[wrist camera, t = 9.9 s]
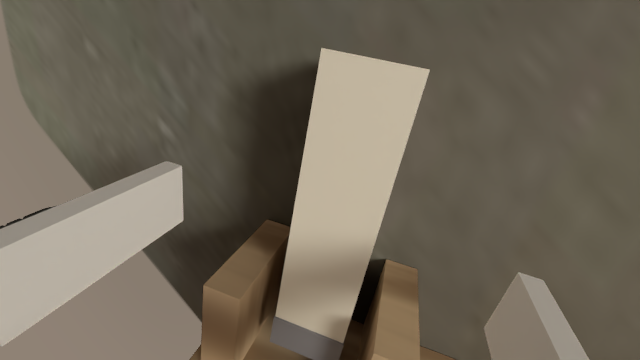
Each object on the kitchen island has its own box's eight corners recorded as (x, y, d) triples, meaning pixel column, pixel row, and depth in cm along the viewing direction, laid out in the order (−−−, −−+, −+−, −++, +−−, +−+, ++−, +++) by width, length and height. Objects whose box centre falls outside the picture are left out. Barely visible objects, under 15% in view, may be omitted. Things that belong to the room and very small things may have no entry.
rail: (346, 54, 15) (319, 47, 11) (425, 69, 15) (431, 70, 10) (299, 284, 22) (269, 341, 17) (352, 304, 21) (335, 369, 16)
